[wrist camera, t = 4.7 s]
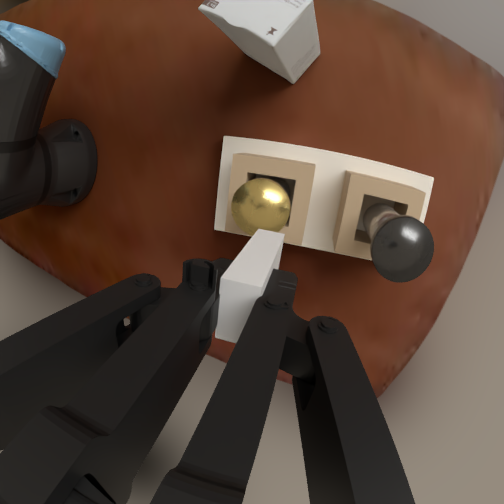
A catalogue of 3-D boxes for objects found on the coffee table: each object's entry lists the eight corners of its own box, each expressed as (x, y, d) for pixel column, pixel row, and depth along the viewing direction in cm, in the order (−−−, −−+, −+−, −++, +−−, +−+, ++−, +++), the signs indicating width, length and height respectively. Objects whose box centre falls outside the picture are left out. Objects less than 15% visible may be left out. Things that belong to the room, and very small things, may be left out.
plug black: (351, 238, 30) (364, 275, 21) (362, 191, 28) (381, 210, 19) (395, 248, 29) (421, 287, 20) (407, 202, 27) (441, 226, 18)
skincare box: (321, 54, 28) (322, 0, 15) (292, 87, 31) (275, 49, 17) (267, 21, 28) (237, -38, 14) (238, 53, 30) (193, 7, 17)
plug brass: (250, 209, 35) (228, 231, 27) (255, 167, 33) (234, 175, 25) (292, 217, 34) (284, 242, 26) (299, 174, 33) (294, 184, 24)
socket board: (219, 225, 39) (199, 241, 33) (228, 136, 35) (209, 134, 28) (406, 262, 35) (421, 285, 29) (428, 176, 31) (450, 183, 24)
